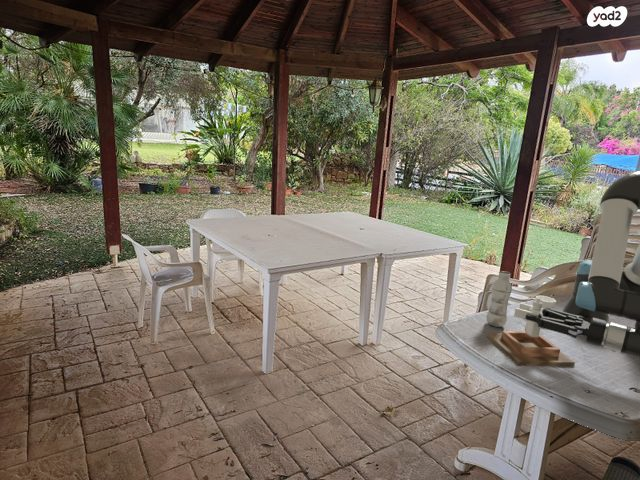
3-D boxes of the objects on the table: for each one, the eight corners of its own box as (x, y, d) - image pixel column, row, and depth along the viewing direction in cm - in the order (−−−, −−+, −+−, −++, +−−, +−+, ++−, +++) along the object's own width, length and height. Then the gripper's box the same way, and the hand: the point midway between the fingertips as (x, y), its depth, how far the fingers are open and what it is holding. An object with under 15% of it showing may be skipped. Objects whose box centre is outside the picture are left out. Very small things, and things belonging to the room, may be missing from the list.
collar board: (536, 337, 138) (538, 327, 137) (574, 365, 120) (576, 354, 119) (486, 336, 135) (488, 326, 134) (518, 365, 118) (520, 354, 117)
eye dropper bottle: (522, 334, 125) (529, 298, 122) (525, 328, 130) (532, 294, 127) (537, 339, 123) (545, 302, 120) (540, 333, 127) (548, 297, 125)
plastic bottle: (507, 330, 141) (517, 276, 137) (487, 327, 143) (496, 274, 138) (502, 323, 147) (512, 271, 143) (483, 320, 149) (492, 268, 144)
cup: (551, 323, 150) (555, 303, 148) (522, 316, 155) (526, 296, 153) (552, 318, 156) (557, 298, 154) (524, 310, 161) (528, 291, 159)
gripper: (599, 357, 108) (507, 329, 122) (604, 335, 122) (522, 312, 136) (605, 331, 106) (512, 305, 120) (610, 312, 120) (526, 291, 134)
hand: (517, 309), depth 128 cm, fingers closed on eye dropper bottle, 5 cm apart
